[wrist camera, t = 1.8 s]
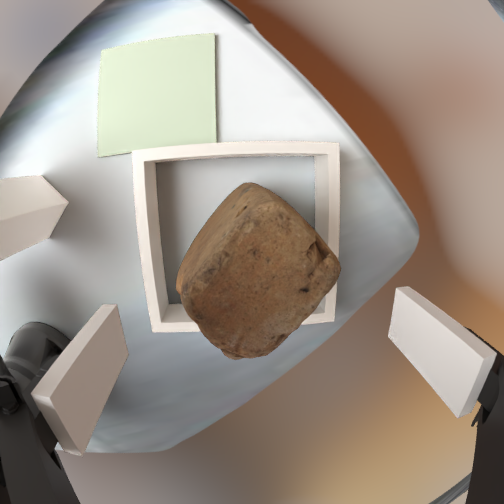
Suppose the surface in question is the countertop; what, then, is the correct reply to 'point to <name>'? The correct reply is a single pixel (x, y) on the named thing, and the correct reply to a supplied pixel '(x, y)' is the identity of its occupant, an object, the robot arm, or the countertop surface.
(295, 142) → the holder
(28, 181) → the milk
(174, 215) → the countertop surface
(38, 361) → the robot arm
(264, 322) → the brown rough stone
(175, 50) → the mat
